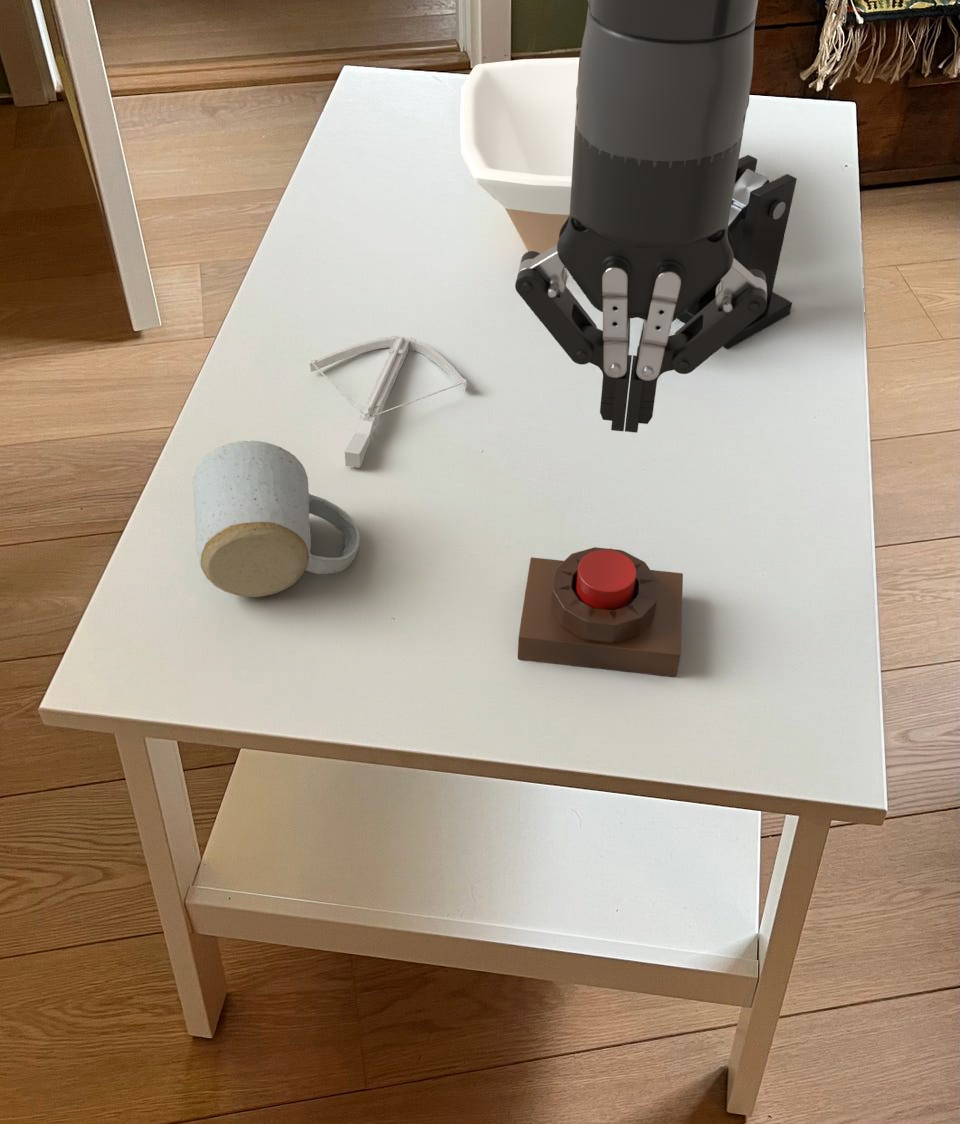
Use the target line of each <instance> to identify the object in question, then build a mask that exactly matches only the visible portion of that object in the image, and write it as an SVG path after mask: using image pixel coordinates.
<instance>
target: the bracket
mask: <svg viewBox="0 0 960 1124" xmlns="http://www.w3.org/2000/svg"><path fill="white" fill-rule="evenodd" d="M757 164H758V158H756V157H754V156H752V155H750V154H747V155H744V156H743V157H739V161H738V167H737V173H736V179H735V183H736V182H737V181H738V179H739V178H740V177H741V176H742V174H743V173H744V172H745V171H746V169H750V170H752V171H754V172H756V170H757ZM797 179H798V178H796V177H795V176H793V175H791V174H790V173H786V174H784V175H782V176H780V177H778V178H775V179H774V180H772V181H771V180H770V181H769V183H767V184H765V185H763V186H761V187H759V188H757V189H755V190H753V191H751V192H750V197H749V202H748V208H747V213H746V218H745V219H744V218H743V219H742V221H741V222H740V223H739V224H738V226H737V227H736V228H735V229H734V231H733V232H732V233H731V234H730V235H731V237H732V240H733V245H734V249H733V255H734V258H735V259H736V260H737V261H738V262H739V263H740V264H741V265H743V266H744V267H745V268H746V269H747V270H752V269H757V270H760V271H762V272H763V273H764V274H765V276H766V285H767V308H766V310H765V312H764V313H763V314H761V315H760V316H759V317H758V318H757V319H755V320H754V321H753V322H752V323H750V324H749V325H748V326H747V327H746V328H744V329H743V330H742V331H741V332H740V333H738V334H737V335H736V336H735V337H733V338H732V339H731V340H730V341H729V342H727V343H726V344H725V345H724V346H722V347H723V348H724V349H726V350H729V349H731V348H733V347H734V346H736V345H738V344H740V343H742V342H744V341H746V340H747V339H749V338H751V337H752V336H754V335H755V334H757V333H759V332H762V331H763V330H765V329H766V328H768V327H770V326H772V325H774V324H776V323H777V322H779V321H780V320H782V319H784V318H786V317H788V316H789V315H790V314H791V310H792V306H793V301H790V300H789V299H786V298H785V297H783V296H781V295H780V294H777V293H776V292H775V291H773V290H774V286H775V281H776V277H777V272H778V268H779V263H780V259H781V254H782V250H783V245H784V241H785V235H786V230H787V226H788V222H789V217H790V212H791V207H792V203H793V198H794V194H795V190H796V185H797V181H798V180H797ZM720 282H721V281H718V282H717V283H716V284H715V285H714V286H713V287H712V288H711V289H710V290H709V291H708V292H707V293H706V294H705V295H703V296H702V297H701V298H700V299H699V300H698V301H697V302H696V303H695V304H694V305H693V306H692V307H691V308H690V309H688V310H687V311H686V312H685V313H684V314H682V315H680V316H678V317H677V318H676V320H679V321H680V322H682V323H684V325H685V324H686V323H687V322H688V321H689V320H691V319H692V318H693V317H694V316H695V315H696V314H698V313H699V312H700V311H701V310H702V309H703V308H704V307H706V306H707V305H708V304H709V303H710V302H711V301H713V300H714V299H715V298H716V287H717V285H718V284H719V283H720Z"/></svg>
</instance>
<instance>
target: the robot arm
mask: <svg viewBox="0 0 960 1124" xmlns="http://www.w3.org/2000/svg"><path fill="white" fill-rule="evenodd" d="M587 1H588V2H587V5H588V7H587V12H586V21H585V27H584V32H583V36H582V41H581V46H580V53H579V57H580V59H579V68H578V81H577V89H576V117H575V132H574V150H573V166H572V182H571V199H570V214H569V217H568V219H567V220H566V222H565V223H564V225H563V226H562V228H561V230H560V233H559V240H558V243H557V244H556V245H554V246H553V247H551V248H549V249H548V250H546V251H544V252H543V253H541V254H540V253H538V252H536V251H529V252H528V251H527V252H525V253H523V254H522V256H521V259H520V262H519V268H518V272H517V275H516V279H515V284H514V289H515V291H516V293H517V294H518V295H519V296H520V297H521V299H522V300H523V301H524V302H525V304H526V306H528V307H529V309H530V310H531V311H532V312H533V314H534V315H535V316H536V317H537V319H538V320H539V321H540V323H542V325H543V326H544V328H545V329H546V330H547V331H548V333H550V334H551V336H552V337H553V338H554V340H555V341H556V342H557V343H558V345H559V346H560V348H561V349H562V350H563V351H564V352H565V354H566V355H567V356H568V357H569V358H570V360H571V361H572V362H573V363H575V364H577V365H581V366H583V365H587V364H592V365H594V366H596V367H598V369H599V370H601V372H602V384H601V396H600V406H599V414H600V416H601V419H602V420H603V421H610V422H611V425H610V431H613V432H614V431H615V432H626V433H634V434H635V433H636V434H637V433H638V430H639V424H642V425H643V424H644V425H649V423H650V421H651V420H652V418H653V416H654V415H653V414H654V409H655V408H654V407H655V399H656V393H657V392H656V391H657V385H658V384H657V383H658V380H659V377H661V375H663V374H664V373H667V372H669V371H671V372H672V371H674V372H676V373H678V374H680V375H687V374H688V375H689V374H690V373H692V372H694V370H696V369H697V368H698V367H699V366H701V365H702V364H703V363H704V362H706V361H707V360H708V359H709V358H711V356H713V355H714V354H716V352H718V351H719V350H720V349H721V348H722V347H723V346H724V345H725V344H726V343H727V342H729V341H730V340H731V339H732V338H733V337H735V336H736V335H737V334H738V333H740V332H741V331H742V330H743V329H744V328H746V327H747V326H748V325H749V324H750V323H752V322H753V321H754V320H755V319H757V318H758V317H759V316H760V315H761V314H763V313H764V312H765V310H766V308H767V285H766V276H765V274H764V273H763V272H762V271H760V270H757V269H752V270H747V269H746V268H745V267H744V266H743V265H741V264H740V263H739V262H738V261H737V260H736V259H735V258H734V255H733V249H734V245H733V240H732V237H731V235H730V233H729V230H728V222H729V216H730V210H731V204H732V197H733V191H734V185H735V179H736V173H737V167H738V161H739V159H740V155H741V148H742V141H743V135H744V128H745V122H746V116H747V110H748V108H749V104H750V93H751V87H752V81H753V80H752V79H753V72H754V71H753V70H754V52H755V51H754V46H755V45H754V44H755V42H754V41H755V40H754V39H755V26H756V16H757V11H758V6H759V0H587ZM566 271H567V272H568V273H567V272H566ZM568 274H569V275H570V276H571V277H572V279H573V280H574V282H575V283H576V285H577V286H578V288H579V289H580V290H581V292H582V293H583V295H584V296H585V297H586V298H587V300H588V301H589V303H590V304H591V305H592V306H593V308H594V309H596V310H598V311H599V312H601V313H602V329H600V328H598V327H597V324H596V323H595V322H594V320H593V319H592V317H591V316H590V315H589V314H588V313H587V311H586V310H585V309H584V308H583V306H582V305H581V304H580V302H579V301H578V299H576V297H575V296H574V294H573V292H571V290H570V289H569V287H567V282H568ZM718 281H721V282H720V283H719V284H718V285H717V287H716V298H715V299H714V300H713V301H711V302H710V303H709V304H708V305H707V306H706V307H704V308H703V309H702V310H701V311H700V312H699V313H698V314H696V315H695V316H694V317H693V318H692V319H691V320H689V321H688V322H687V323H686V324H685V323H684V324H683V325H682V326H681V327H680V328H679V329H678V330H676V331H675V333H674V334H671V335H670V332H671V329H672V328H671V327H672V325H673V322H672V319H673V318H675V317H678V316H680V315H682V314H684V313H685V312H686V311H687V310H688V309H690V308H691V307H692V306H693V305H694V304H695V303H696V302H697V301H698V300H699V299H700V298H701V297H702V296H703V295H705V294H706V293H707V292H708V291H709V290H710V289H711V288H712V287H713V286H714V285H715V284H716V283H717V282H718ZM634 318H637V319H638V318H639V319H642V320H643V321H642V327H641V331H640V337H639V341H638V346H637V348H636V355H632V354H630V344H631V319H634Z"/></svg>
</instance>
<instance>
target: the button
mask: <svg viewBox="0 0 960 1124" xmlns="http://www.w3.org/2000/svg"><path fill="white" fill-rule="evenodd" d="M635 579H636V568H635V566H634V564H633V562H632V561H631V560H630V559H629V558H628V557H627V556H625V555H623V554H621V553H619V552H616V551H612V550H598V551H594V552H591V553H589V554H587V555H586V556H585V557H583V559H582V560H581V561H580V563H579V565H578V572H577V583H576V590H577V594H578V595H579V597H580V599H581V600H582V601H583V602H584V603H586V604H587V605H589V606H591V607H593V608H596V609H603V610H614V609H618V608H621V607H623V606H624V605H626V604H627V603H628V602H629V601H630V600H631V598H632V596H633V593H634V586H635Z"/></svg>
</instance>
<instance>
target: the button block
mask: <svg viewBox="0 0 960 1124" xmlns="http://www.w3.org/2000/svg"><path fill="white" fill-rule="evenodd" d="M598 550H612V551H616V552H619V553H621V554H623V555H625V556H627V557H628V558H629V559H630V560H631V561H632V562H633V564H634V566H635V568H636V579H635V586H634V593H633V596H632V598H631V600H630V601H629V602H628V603H627V604H626V605H624V606H623V607H621V608H618V609H614V610H603V609H596V608H593V607H591V606H589V605H587V604H586V603H584V602H583V601H582V600H581V599H580V597H579V595H578V594H577V590H576V583H577V572H578V565H579V563H580V561H581V560H582V559H583V557H585V556H586V555H587V554H589V553H591V552H594V551H598ZM528 565H529V566H528V571H527V577H526V580H527V581H526V585H525V593H524V598H523V604H522V610H521V611H522V612H521V619H520V626H519V631H518V638H517V660H523V661H529V662H530V661H532V662H540V663H548V664H558V665H565V666H566V665H567V666H574V667H576V666H577V667H584V668H592V669H602V670H611V671H612V670H613V671H620V672H628V673H629V672H630V673H639V674H646V675H656V676H663V677H665V676H666V677H673V678H676V677H677V675H678V670H679V667H680V666H679V665H680V661H681V656H682V626H683V624H682V623H683V588H684V573H683V572H674V571H673V572H672V571H667V570H666V571H665V570H656V569H650V567H649V566H648V564H647V563H646V562H645V561H644V560H642V559H640V558H638V557H636V556H634V555H633V554H630V553H629V552H627V551H625V550H623V549H615V548H605V547H595V546H594V547H590V548H586V549H583V550H580V551H577V552H574V553H571V554H570V555H568V557H567V558H566V559H565V560H560V559H553V558H551V559H550V558H542V557H533V556H532V557H530V559H529V564H528Z"/></svg>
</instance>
